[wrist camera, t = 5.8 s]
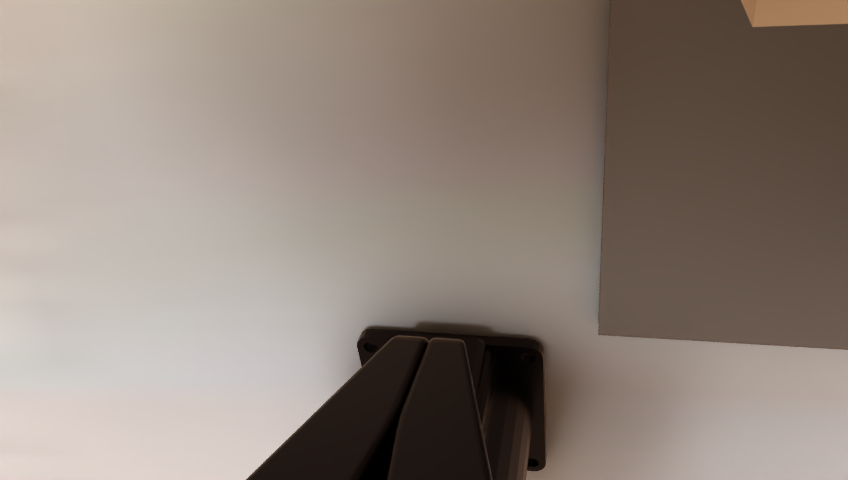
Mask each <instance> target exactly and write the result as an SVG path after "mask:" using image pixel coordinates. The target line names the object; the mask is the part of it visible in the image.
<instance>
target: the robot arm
mask: <svg viewBox="0 0 848 480" xmlns="http://www.w3.org/2000/svg"><path fill="white" fill-rule="evenodd" d="M369 342H371V343H374V344H375V345H373V344H371V343H369ZM357 348H358V352H359V356H360V361H361V365H362V367H361V368H360V369H359V370H358V371H357V372H356V373H355V374H354V375H353V376H352V377H351V378H350V379H349V380H348V381H347V382H346V383H345V384H344V385H343V386H342V387H341V388H340V389H339V390H338V391H337V392H336V393H335V394H334V395H333V396H332V397H331V398H329V399H328V400H327V401H326V402H325V403H324V404H323V405H322V406H321V407H320V408H319V409H318V410H317V411H316V412H315V413H314V414H313V415H312V416H311V417H310V418H309V419H308V420H307V421H306V422H305V423H304V424H303V425H302V426H301V427H300V428H299V429H298V430H297V431H296V432H295V433H293V434H292V435H291V436H290V437H289V438H288V439H287V440H286V441H285V442H284V443H283V444H282V445H281V446H280V447H279V448H278V449H277V450H276V451H275V452H274V453H273V454H272V455H271V456H270V457H269V458H268V459H267V460H266V461H265V462H264V463H263V464H262V465H261V466H260V467H259V468H258V469H256V470H255V471H254V472H253V473H252V474H251V475H250V476H249V477H248V478H247V479H246V480H526V474H527V470H528V471H539V470H542V469H543V468H544V467H545V464H546V416H545V370H544V349H543V346H542V345H541V344H540V343H539V342H537V341H535V340H531V339H520V338H504V337H488V336H472V335H456V334H440V333H424V332H408V331H392V330H376V329H369V330H365V331H363V332H362V333H361V335H360V337H359V340H358V342H357ZM524 353H531V354H533V355H526V354H524Z"/></svg>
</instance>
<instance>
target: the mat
mask: <svg viewBox="0 0 848 480" xmlns="http://www.w3.org/2000/svg"><path fill="white" fill-rule="evenodd" d="M598 335H609V336H626V337H643V338H659V339H676V340H693V341H710V342H726V343H743V344H760V345H777V346H793V347H810V348H827V349H844V350H848V24H824V25H796V26H767V27H752V25H751V22H750V20H749V18H748V16H747V13H746V11H745V9H744V6H743V4H742V2H741V0H611V6H610V33H609V60H608V86H607V113H606V140H605V167H604V193H603V220H602V247H601V273H600V300H599V330H598Z"/></svg>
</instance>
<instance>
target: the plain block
mask: <svg viewBox="0 0 848 480" xmlns="http://www.w3.org/2000/svg"><path fill="white" fill-rule="evenodd" d="M741 2H742V4H743V6H744V9H745V11H746V13H747V16H748V18H749V20H750V22H751V25H752V27H767V26H796V25H824V24H848V0H741Z"/></svg>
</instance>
